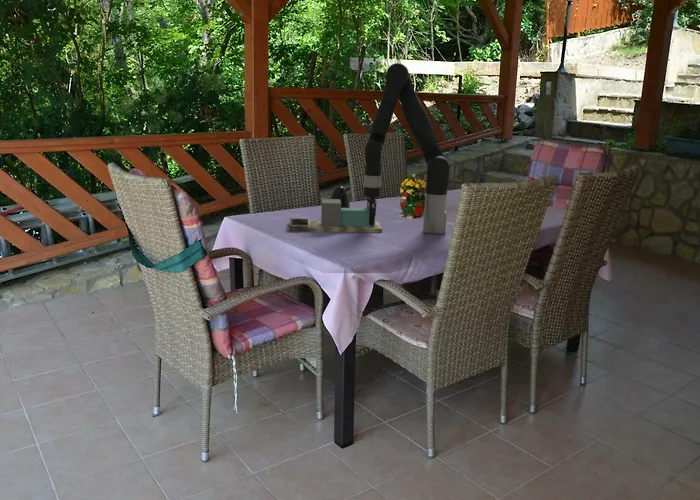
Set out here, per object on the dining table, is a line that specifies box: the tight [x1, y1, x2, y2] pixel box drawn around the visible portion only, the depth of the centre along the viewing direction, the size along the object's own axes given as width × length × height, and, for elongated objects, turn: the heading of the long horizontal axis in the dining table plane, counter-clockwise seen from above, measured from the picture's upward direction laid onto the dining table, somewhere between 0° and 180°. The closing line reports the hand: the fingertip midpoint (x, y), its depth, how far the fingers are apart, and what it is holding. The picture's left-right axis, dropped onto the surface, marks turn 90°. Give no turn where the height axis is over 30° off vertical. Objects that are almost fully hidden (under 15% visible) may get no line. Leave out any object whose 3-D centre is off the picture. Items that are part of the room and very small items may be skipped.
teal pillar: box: [341, 207, 376, 226], centre depth 278 cm, size 18×5×7 cm, turn 95°
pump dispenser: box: [329, 185, 351, 208], centre depth 296 cm, size 10×10×15 cm
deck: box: [289, 217, 383, 233], centre depth 278 cm, size 40×14×2 cm, turn 95°
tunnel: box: [320, 198, 341, 227], centre depth 276 cm, size 8×8×10 cm
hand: (370, 223), depth 279 cm, fingers closed on teal pillar, 5 cm apart
